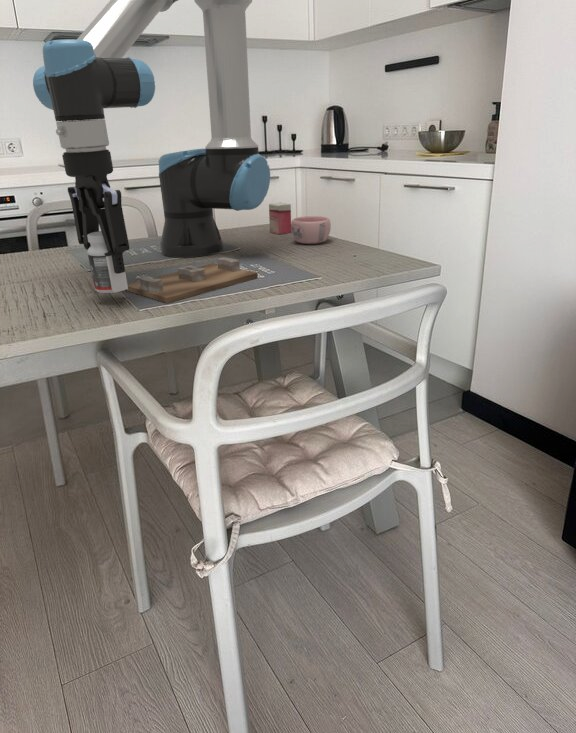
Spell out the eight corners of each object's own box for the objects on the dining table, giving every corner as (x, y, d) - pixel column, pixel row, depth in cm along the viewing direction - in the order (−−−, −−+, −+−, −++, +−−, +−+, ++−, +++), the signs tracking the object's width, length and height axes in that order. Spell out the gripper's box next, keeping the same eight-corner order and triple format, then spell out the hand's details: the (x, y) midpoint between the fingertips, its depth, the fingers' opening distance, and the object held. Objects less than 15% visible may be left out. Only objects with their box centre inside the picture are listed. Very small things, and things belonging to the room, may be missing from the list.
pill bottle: (98, 285, 105) (88, 231, 101) (130, 283, 106) (121, 229, 102) (91, 294, 100) (80, 237, 96) (124, 292, 101) (114, 235, 96)
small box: (269, 232, 161) (268, 203, 158) (281, 230, 164) (280, 202, 160) (279, 235, 158) (278, 205, 154) (292, 233, 160) (291, 203, 157)
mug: (338, 242, 146) (338, 218, 144) (309, 248, 140) (308, 223, 138) (307, 236, 155) (307, 213, 152) (278, 241, 149) (278, 218, 147)
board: (124, 290, 110) (122, 274, 109) (213, 267, 125) (212, 254, 124) (167, 303, 101) (165, 286, 100) (257, 277, 116) (256, 263, 115)
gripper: (37, 150, 97) (66, 283, 106) (93, 152, 85) (120, 302, 94) (79, 146, 102) (102, 274, 111) (137, 148, 89) (158, 291, 99)
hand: (110, 287), depth 103 cm, fingers closed on pill bottle, 6 cm apart
